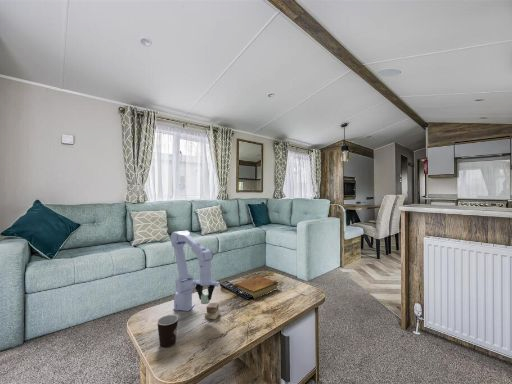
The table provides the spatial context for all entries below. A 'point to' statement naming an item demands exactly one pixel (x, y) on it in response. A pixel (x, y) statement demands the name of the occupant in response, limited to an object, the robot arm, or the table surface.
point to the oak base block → (212, 314)
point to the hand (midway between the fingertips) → (205, 299)
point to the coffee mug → (167, 330)
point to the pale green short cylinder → (204, 298)
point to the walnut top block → (212, 307)
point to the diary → (257, 286)
